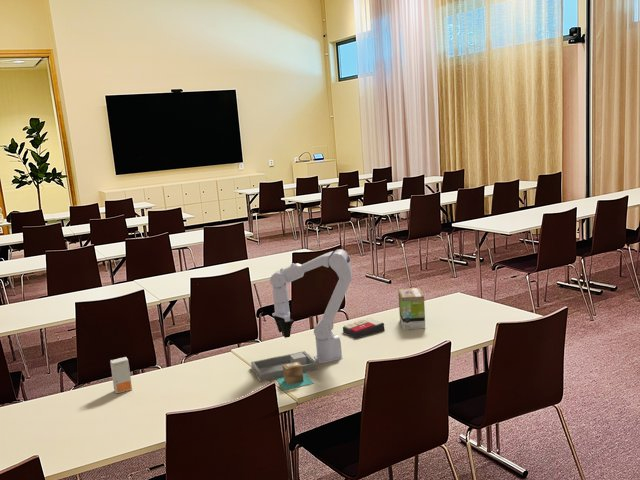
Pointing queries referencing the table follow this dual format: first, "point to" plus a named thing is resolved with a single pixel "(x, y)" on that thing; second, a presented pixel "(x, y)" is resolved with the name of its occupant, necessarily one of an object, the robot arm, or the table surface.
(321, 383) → the table surface
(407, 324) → the tea box
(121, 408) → the table surface
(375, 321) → the black and red box
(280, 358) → the parts bin
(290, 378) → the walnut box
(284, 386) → the mat
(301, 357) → the grey box
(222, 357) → the table surface
